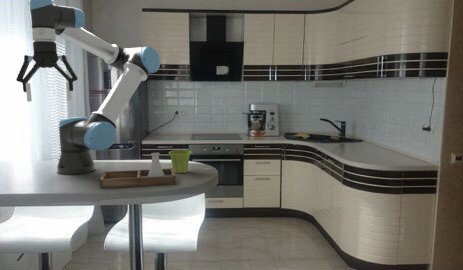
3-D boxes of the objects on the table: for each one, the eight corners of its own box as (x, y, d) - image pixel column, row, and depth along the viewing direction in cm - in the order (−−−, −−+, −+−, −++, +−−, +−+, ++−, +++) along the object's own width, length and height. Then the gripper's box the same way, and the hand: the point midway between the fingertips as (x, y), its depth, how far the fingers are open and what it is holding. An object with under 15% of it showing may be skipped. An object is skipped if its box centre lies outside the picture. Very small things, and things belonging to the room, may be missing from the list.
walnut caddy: (104, 179, 150) (103, 171, 149) (173, 175, 156) (172, 168, 155) (100, 188, 136) (99, 180, 136) (175, 183, 142) (175, 176, 142)
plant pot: (181, 175, 156) (181, 154, 155) (164, 172, 161) (164, 152, 160) (195, 171, 164) (195, 151, 162) (179, 168, 169) (178, 149, 167)
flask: (161, 181, 143) (161, 155, 142) (143, 180, 144) (142, 154, 143) (168, 176, 150) (167, 152, 149) (150, 176, 151) (149, 151, 150)
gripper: (2, 40, 130) (8, 102, 133) (79, 40, 135) (84, 100, 138) (10, 42, 137) (15, 101, 140) (82, 42, 142) (87, 99, 145)
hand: (49, 100), depth 139 cm, fingers open, 13 cm apart
